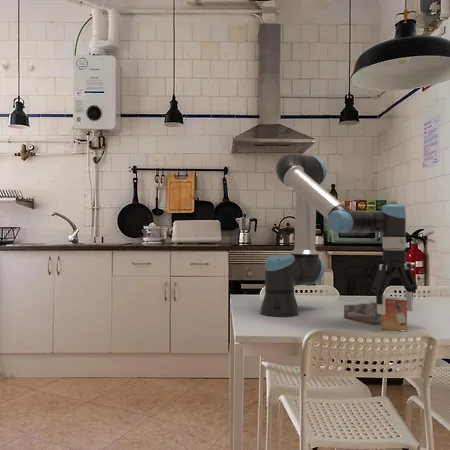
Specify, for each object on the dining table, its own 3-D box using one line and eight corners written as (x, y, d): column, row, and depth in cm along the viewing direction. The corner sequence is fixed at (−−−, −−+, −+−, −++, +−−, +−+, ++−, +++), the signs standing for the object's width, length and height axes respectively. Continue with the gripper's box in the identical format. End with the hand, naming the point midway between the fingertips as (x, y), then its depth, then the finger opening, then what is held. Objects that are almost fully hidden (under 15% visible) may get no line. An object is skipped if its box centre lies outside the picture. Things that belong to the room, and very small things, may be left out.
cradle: (374, 325, 159) (374, 311, 159) (344, 318, 172) (344, 304, 172) (405, 320, 167) (405, 307, 167) (373, 314, 180) (373, 301, 180)
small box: (381, 329, 152) (381, 298, 152) (382, 326, 157) (382, 296, 157) (407, 331, 149) (407, 299, 149) (406, 328, 154) (406, 297, 154)
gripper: (377, 250, 144) (378, 317, 143) (427, 249, 156) (428, 310, 156) (359, 250, 150) (360, 313, 150) (409, 248, 163) (410, 307, 162)
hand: (395, 312), depth 153 cm, fingers open, 13 cm apart
